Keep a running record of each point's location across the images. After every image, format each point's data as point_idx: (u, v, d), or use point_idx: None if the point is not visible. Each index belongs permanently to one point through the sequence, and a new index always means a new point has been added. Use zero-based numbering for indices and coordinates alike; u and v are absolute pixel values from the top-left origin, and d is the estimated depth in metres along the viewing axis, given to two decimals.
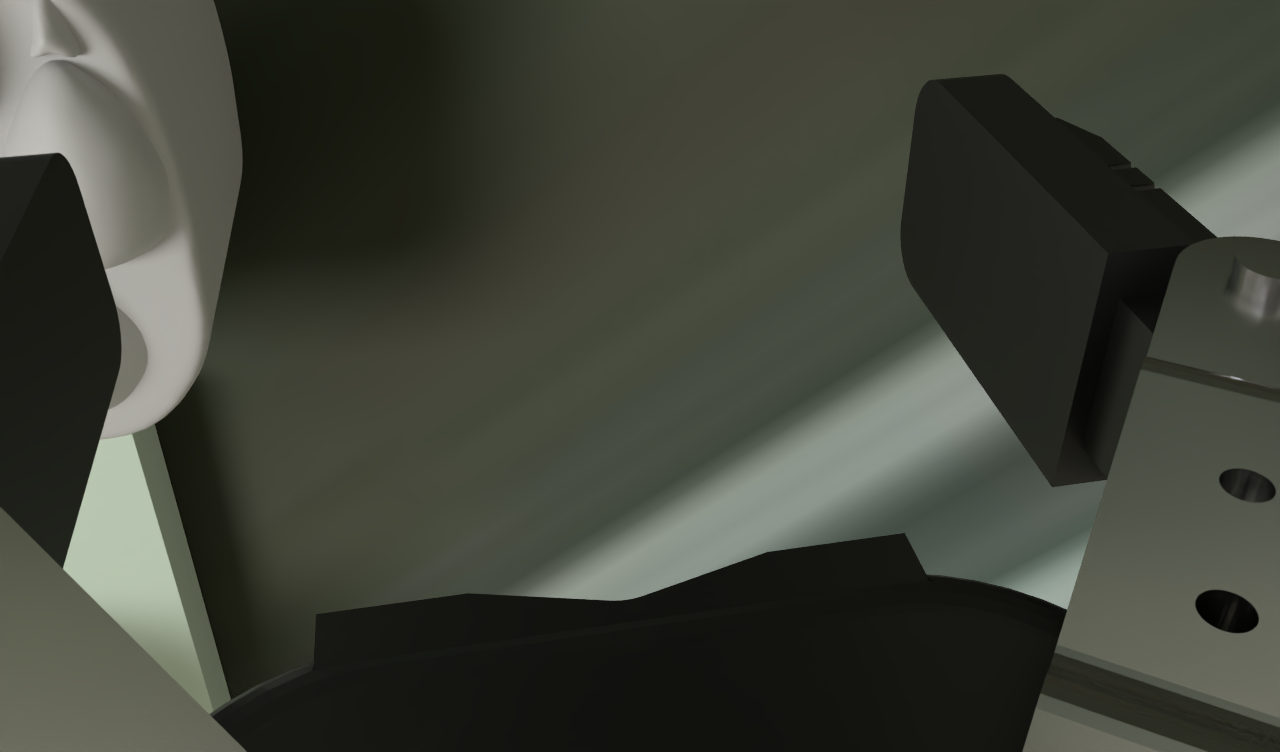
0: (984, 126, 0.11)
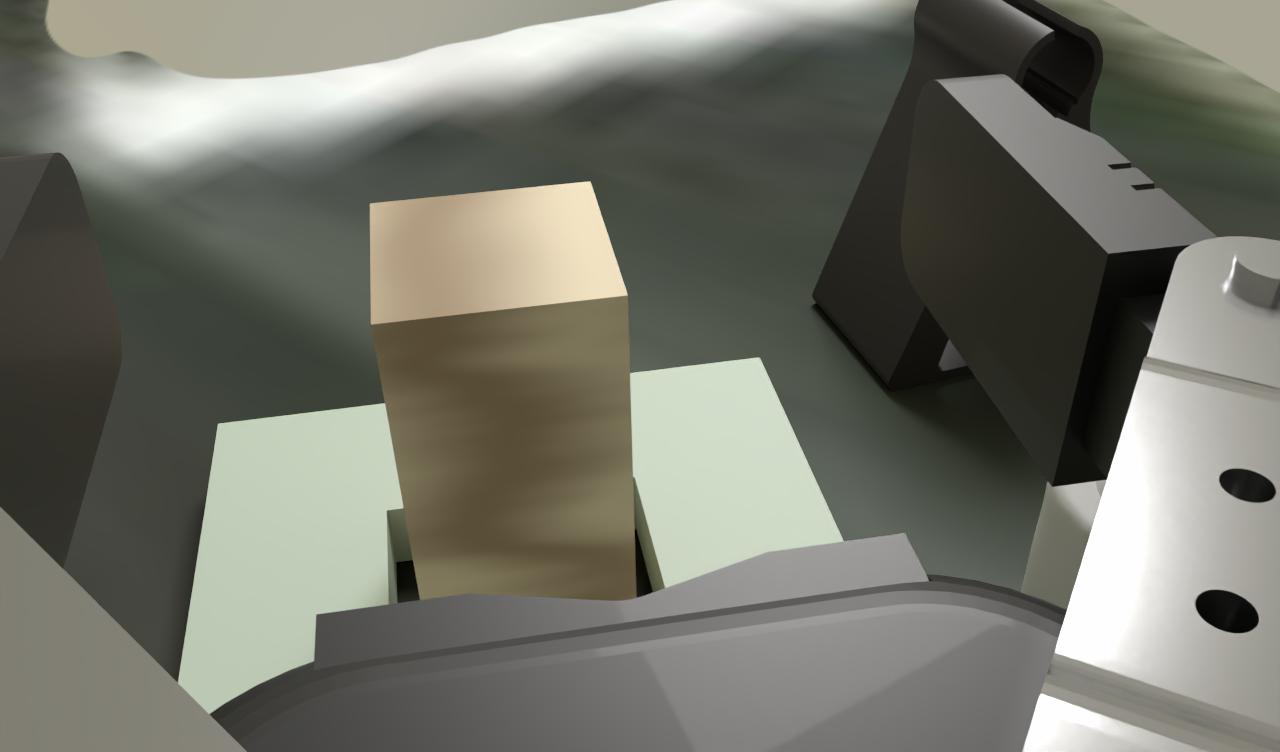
0: (984, 126, 0.11)
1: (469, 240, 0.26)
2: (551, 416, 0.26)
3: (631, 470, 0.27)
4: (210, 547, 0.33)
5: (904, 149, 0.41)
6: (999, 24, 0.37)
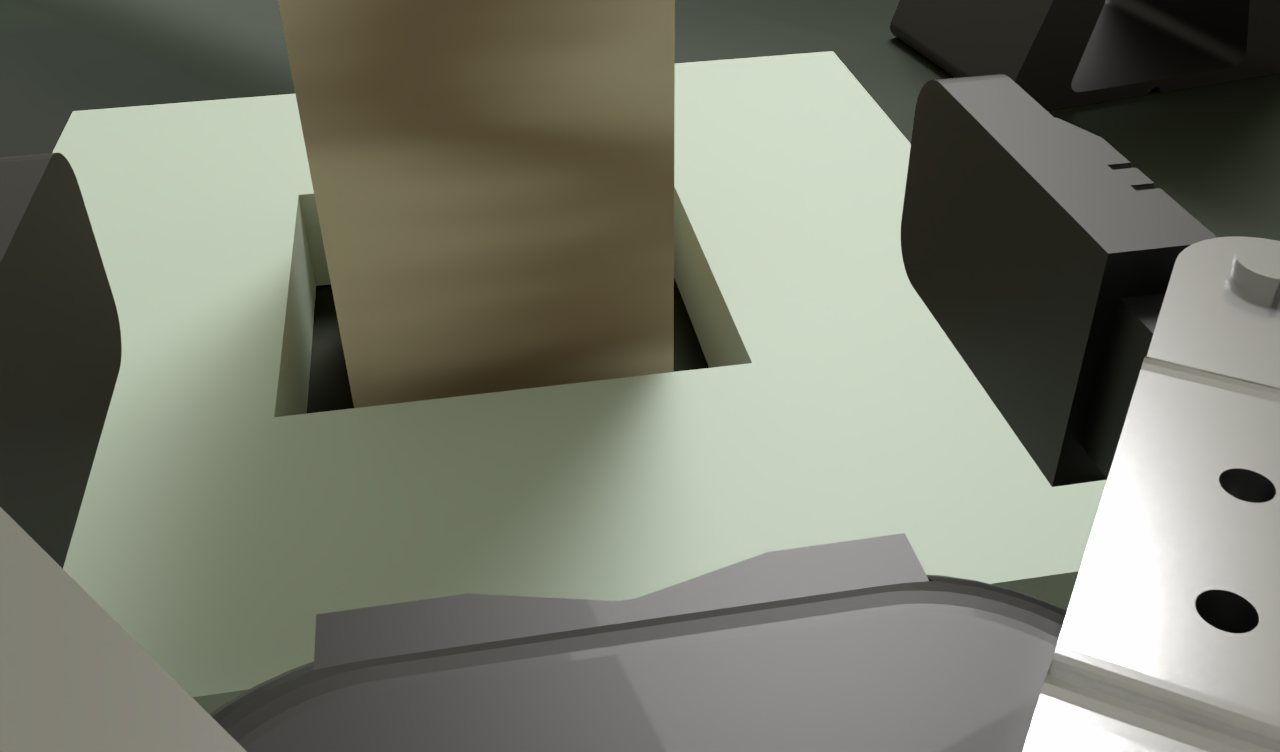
0: (984, 126, 0.11)
1: None
2: None
3: None
4: None
5: None
6: None
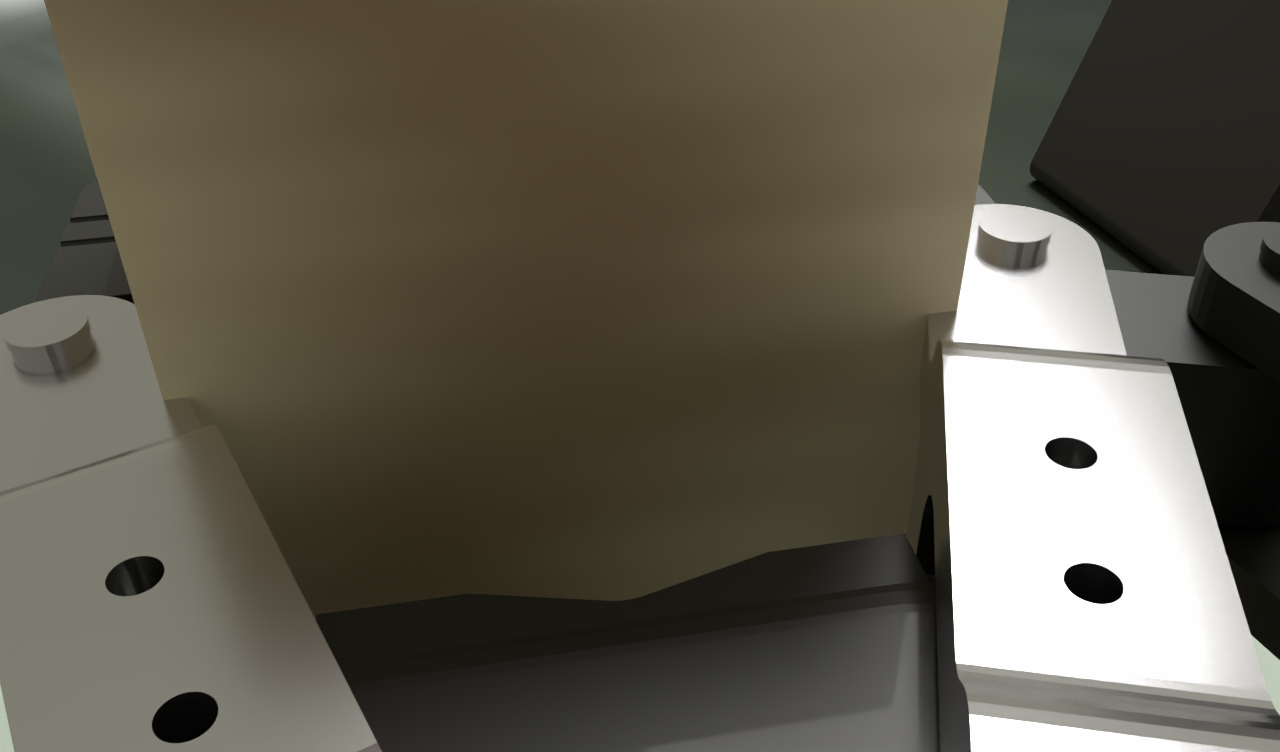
0: None
1: None
2: (708, 196, 0.07)
3: None
4: None
5: None
6: None
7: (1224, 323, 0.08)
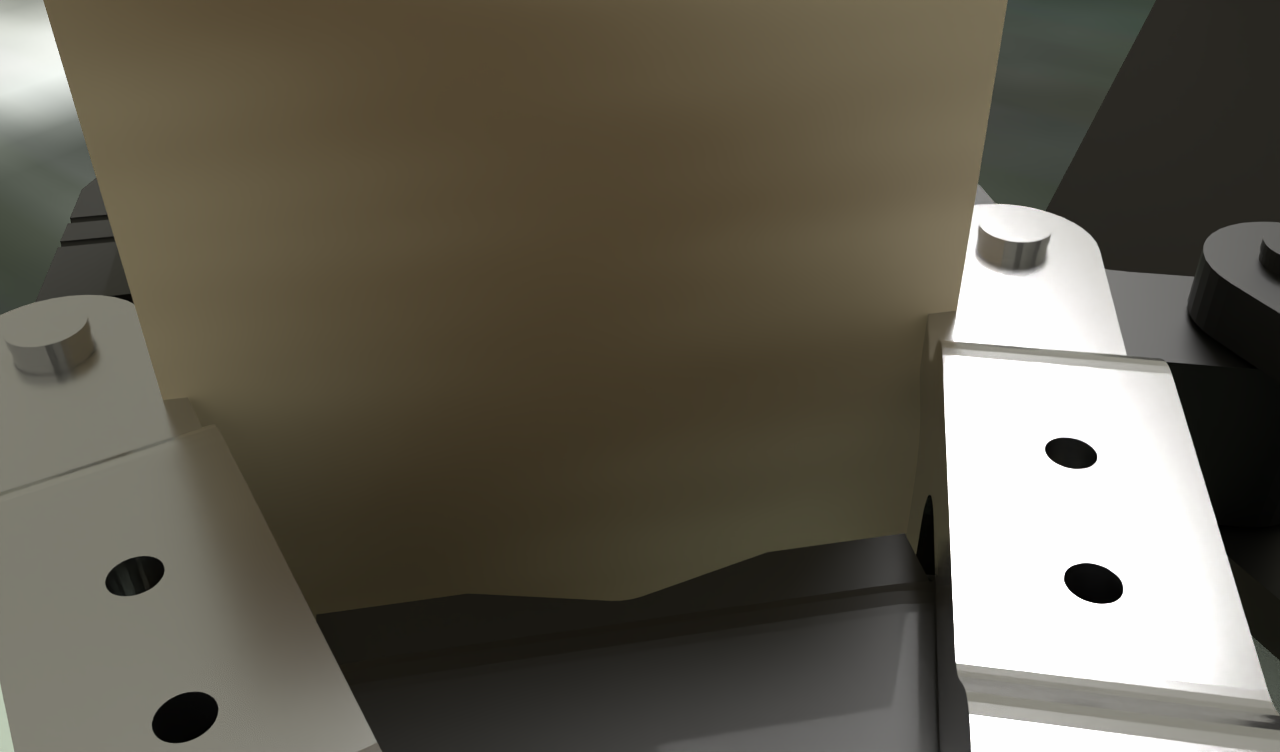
0: None
1: None
2: (706, 197, 0.07)
3: None
4: None
5: (1178, 78, 0.25)
6: None
7: (1224, 323, 0.08)
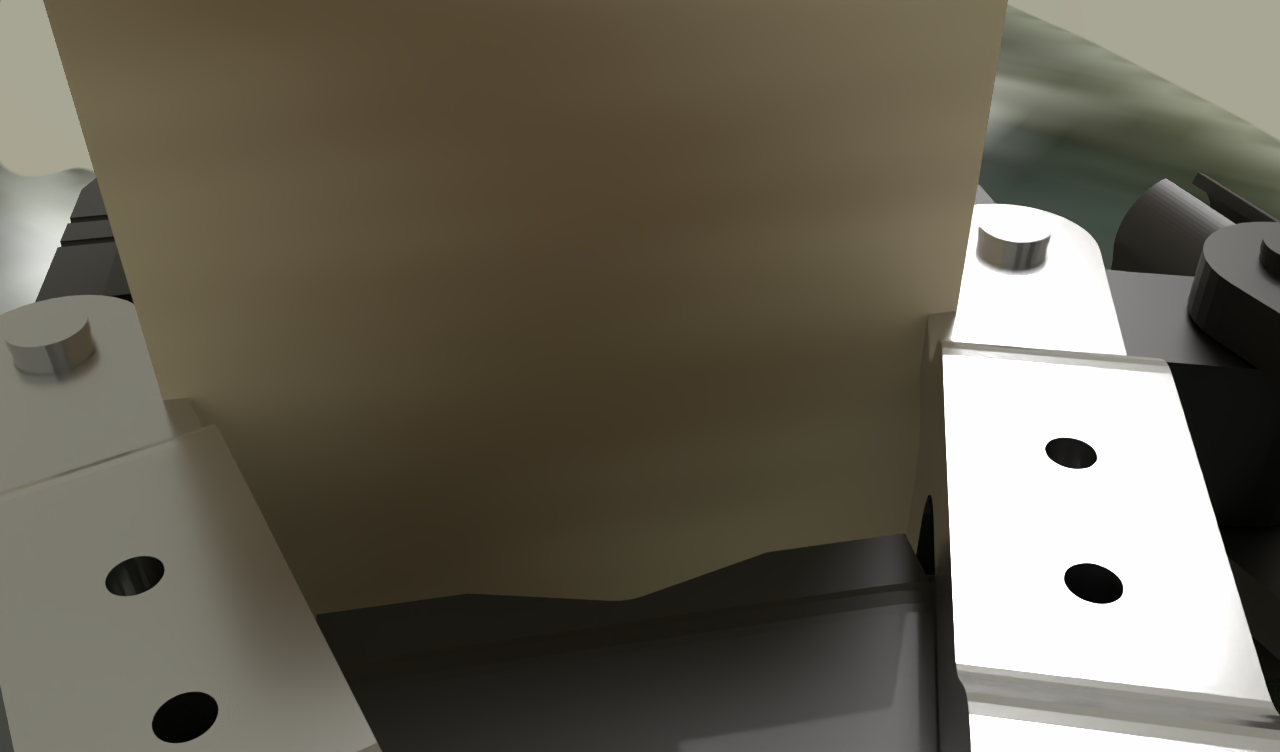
0: None
1: None
2: (708, 195, 0.07)
3: None
4: None
5: None
6: None
7: (1224, 323, 0.08)
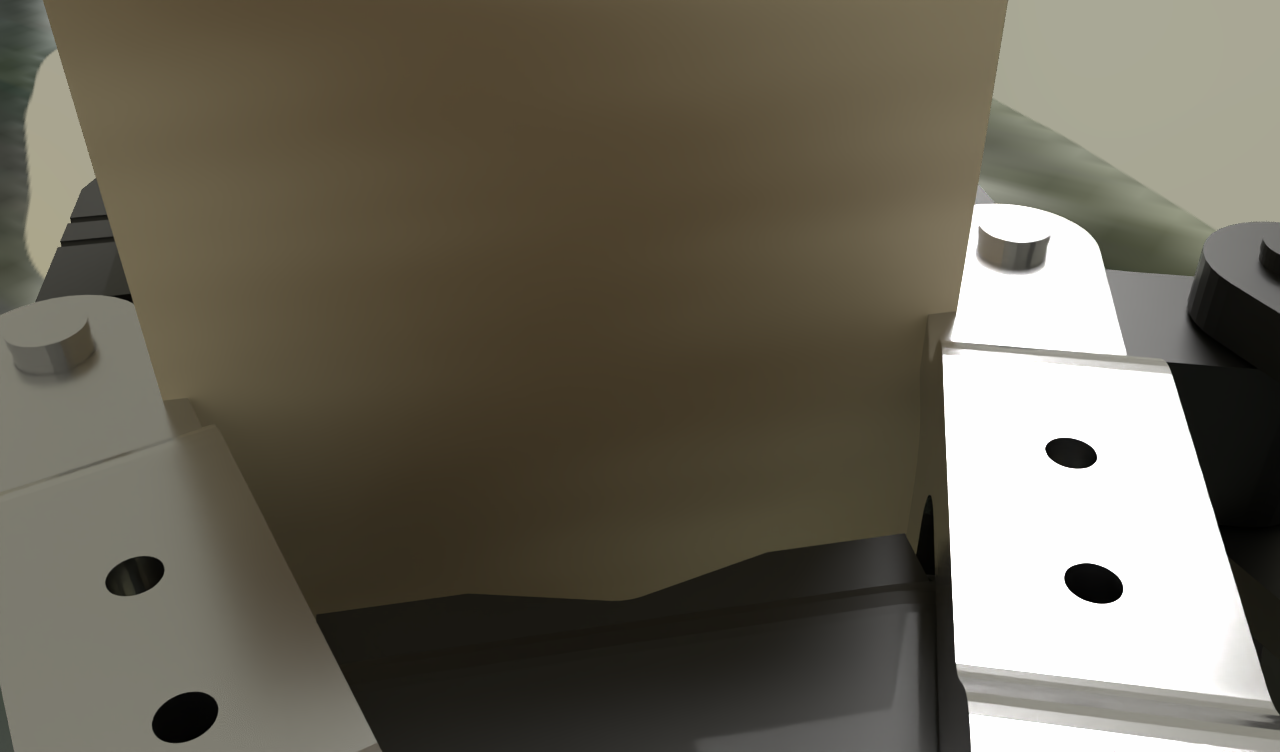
0: None
1: None
2: (706, 196, 0.07)
3: None
4: None
5: None
6: None
7: (1224, 323, 0.08)
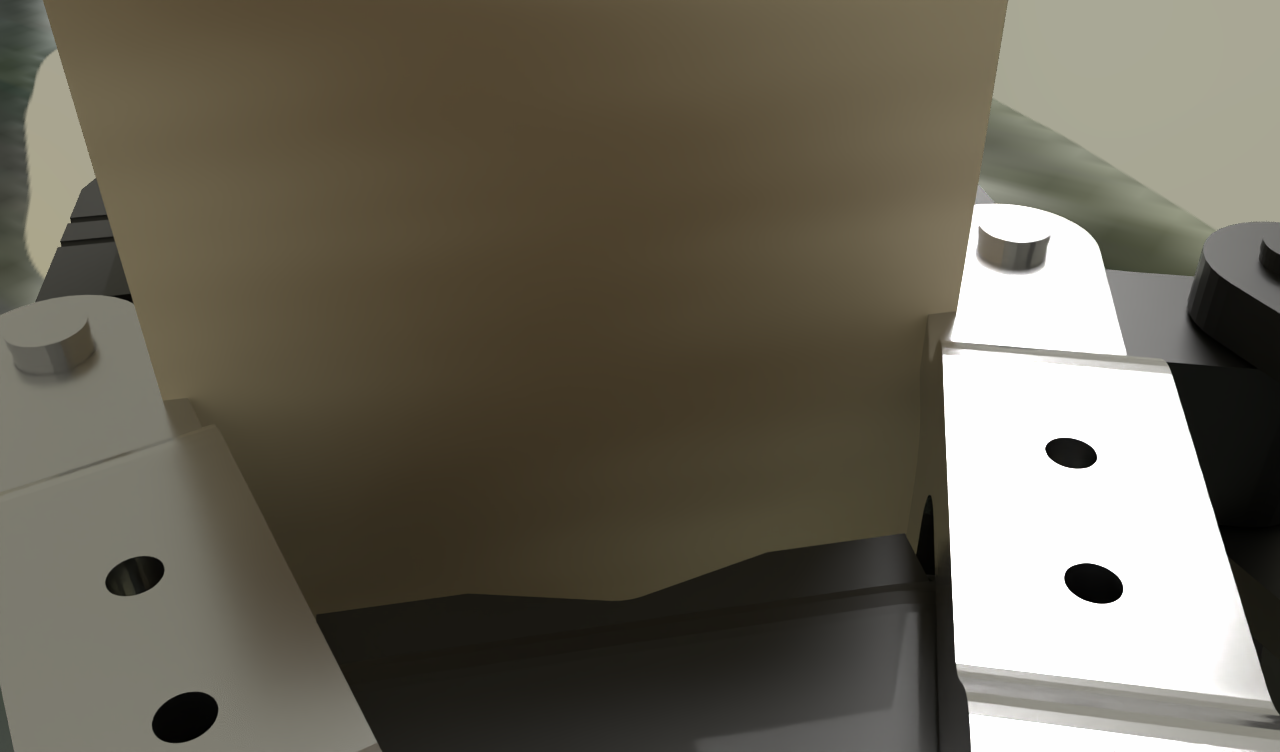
0: None
1: None
2: (706, 194, 0.07)
3: None
4: None
5: None
6: None
7: (1224, 323, 0.08)
